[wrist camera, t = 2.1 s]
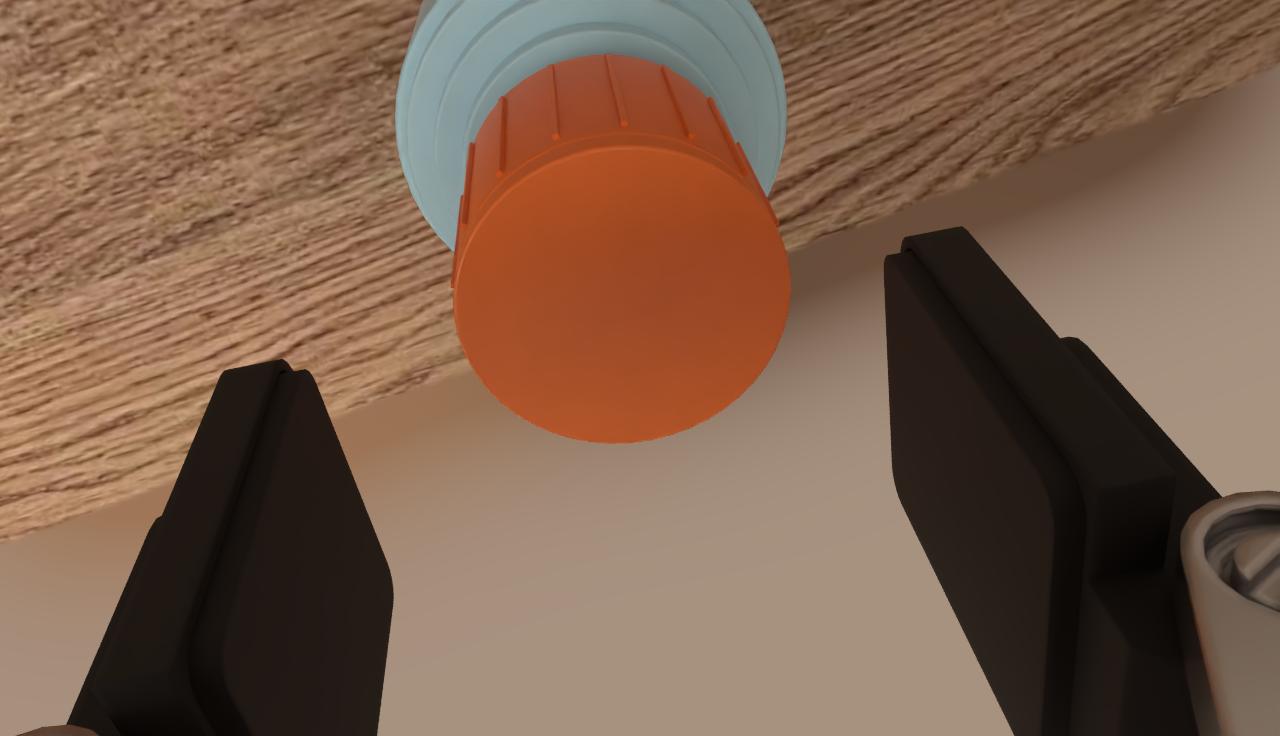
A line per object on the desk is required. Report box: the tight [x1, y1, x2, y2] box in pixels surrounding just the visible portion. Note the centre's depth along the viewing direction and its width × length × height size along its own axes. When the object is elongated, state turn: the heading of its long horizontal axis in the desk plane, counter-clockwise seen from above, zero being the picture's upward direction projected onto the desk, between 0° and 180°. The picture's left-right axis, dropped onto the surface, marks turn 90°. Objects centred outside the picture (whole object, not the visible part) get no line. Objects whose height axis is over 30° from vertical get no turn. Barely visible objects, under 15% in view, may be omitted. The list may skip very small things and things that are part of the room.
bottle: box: [395, 0, 787, 252], centre depth 21 cm, size 7×7×18 cm
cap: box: [451, 53, 791, 443], centre depth 14 cm, size 4×4×4 cm
